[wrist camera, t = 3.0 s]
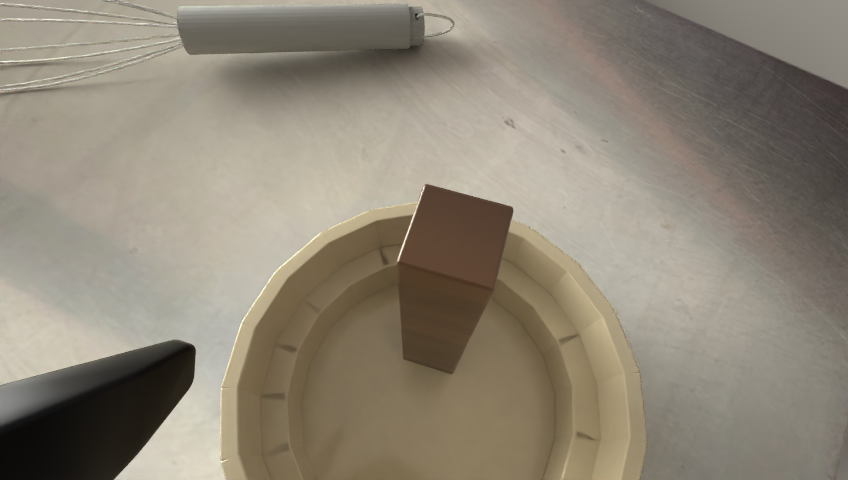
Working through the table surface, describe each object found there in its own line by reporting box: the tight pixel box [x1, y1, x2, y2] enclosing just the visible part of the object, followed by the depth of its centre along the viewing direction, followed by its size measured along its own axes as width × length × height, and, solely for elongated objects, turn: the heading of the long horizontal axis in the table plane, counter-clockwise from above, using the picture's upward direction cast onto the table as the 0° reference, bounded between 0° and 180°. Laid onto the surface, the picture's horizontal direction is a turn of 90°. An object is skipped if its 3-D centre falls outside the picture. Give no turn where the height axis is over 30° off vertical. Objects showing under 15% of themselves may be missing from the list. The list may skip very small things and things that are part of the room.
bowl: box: [220, 202, 647, 480], centre depth 17 cm, size 14×14×6 cm
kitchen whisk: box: [0, 0, 454, 92], centre depth 26 cm, size 6×34×6 cm, turn 99°
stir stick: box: [397, 184, 513, 374], centre depth 16 cm, size 2×2×11 cm
